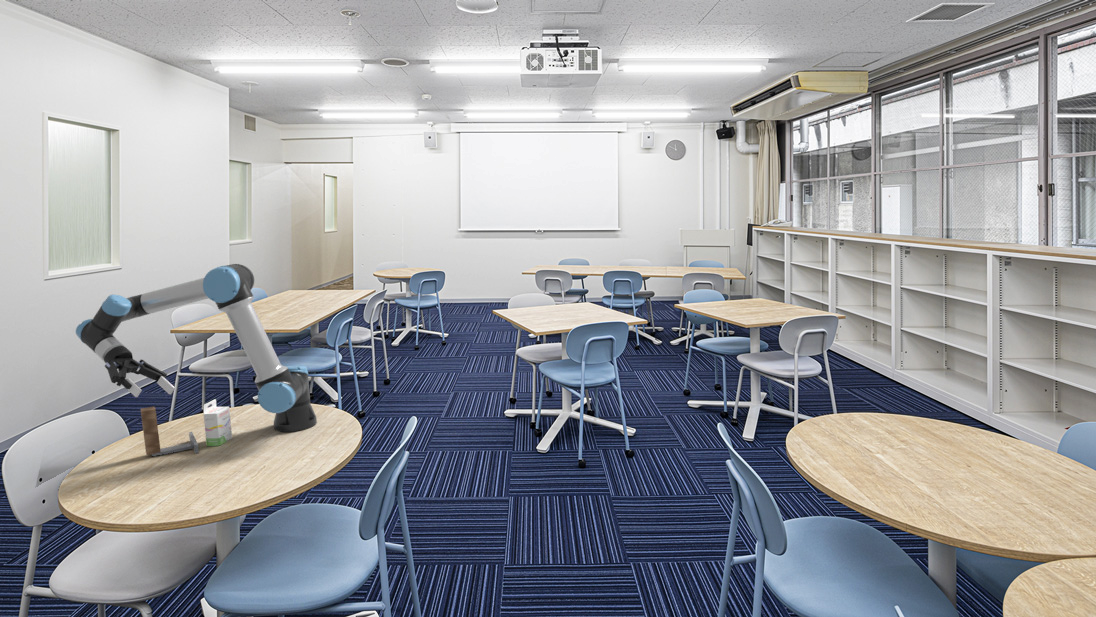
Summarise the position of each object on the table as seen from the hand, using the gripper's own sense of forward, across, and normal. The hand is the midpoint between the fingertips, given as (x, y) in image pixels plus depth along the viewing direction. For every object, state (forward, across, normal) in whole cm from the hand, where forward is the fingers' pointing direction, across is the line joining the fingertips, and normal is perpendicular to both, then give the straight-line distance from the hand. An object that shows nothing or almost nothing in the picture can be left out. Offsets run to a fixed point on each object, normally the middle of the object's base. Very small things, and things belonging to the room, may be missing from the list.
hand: (156, 392), depth 206 cm
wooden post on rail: (+11, -9, -17) cm, 22 cm away
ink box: (+18, -19, -10) cm, 28 cm away
